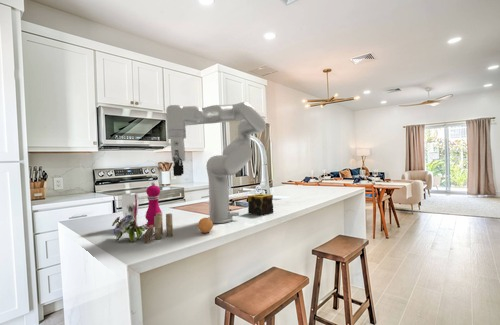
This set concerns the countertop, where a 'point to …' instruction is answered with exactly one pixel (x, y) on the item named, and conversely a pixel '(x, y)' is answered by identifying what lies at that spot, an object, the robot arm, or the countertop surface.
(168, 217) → the front pin
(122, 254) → the countertop surface
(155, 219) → the back pin left
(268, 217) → the countertop surface
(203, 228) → the ball
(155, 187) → the pepper mill
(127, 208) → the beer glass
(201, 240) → the countertop surface
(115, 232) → the passion flower
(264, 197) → the dark textured cube
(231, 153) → the robot arm
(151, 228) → the wall
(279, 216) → the countertop surface
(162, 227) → the back pin right
